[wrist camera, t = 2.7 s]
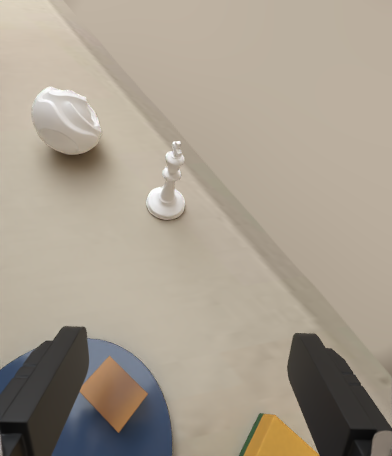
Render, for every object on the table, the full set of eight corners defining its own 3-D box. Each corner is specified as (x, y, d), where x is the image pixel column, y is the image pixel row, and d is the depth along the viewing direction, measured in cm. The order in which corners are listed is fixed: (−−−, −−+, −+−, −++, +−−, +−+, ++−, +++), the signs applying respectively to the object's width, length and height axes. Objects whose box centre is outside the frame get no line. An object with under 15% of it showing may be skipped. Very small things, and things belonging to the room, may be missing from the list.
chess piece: (152, 223, 32) (161, 163, 24) (141, 192, 34) (146, 127, 26) (189, 216, 34) (210, 158, 26) (177, 187, 36) (192, 124, 28)
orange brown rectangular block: (81, 390, 21) (77, 390, 20) (110, 358, 23) (109, 355, 21) (119, 430, 20) (118, 433, 19) (146, 394, 22) (148, 393, 20)
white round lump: (108, 164, 36) (105, 113, 29) (45, 171, 33) (26, 116, 26) (96, 125, 39) (90, 72, 33) (38, 128, 36) (20, 71, 30)
